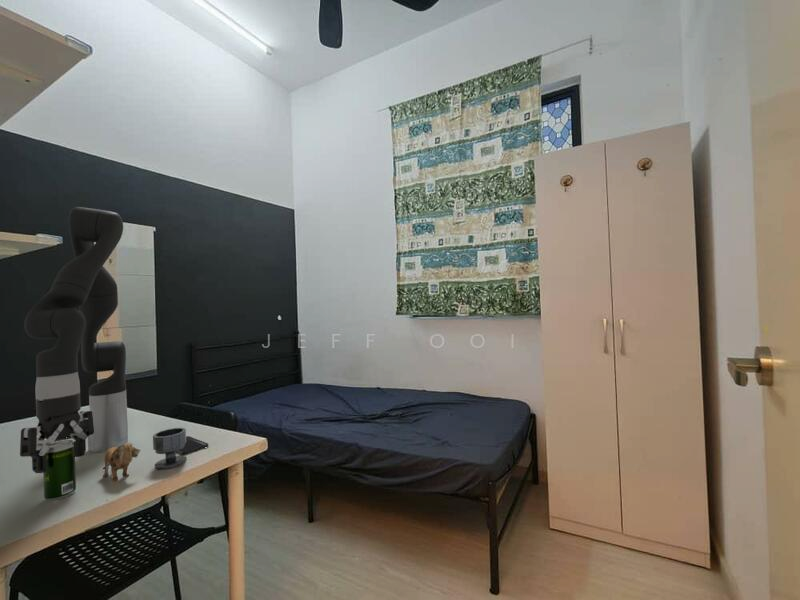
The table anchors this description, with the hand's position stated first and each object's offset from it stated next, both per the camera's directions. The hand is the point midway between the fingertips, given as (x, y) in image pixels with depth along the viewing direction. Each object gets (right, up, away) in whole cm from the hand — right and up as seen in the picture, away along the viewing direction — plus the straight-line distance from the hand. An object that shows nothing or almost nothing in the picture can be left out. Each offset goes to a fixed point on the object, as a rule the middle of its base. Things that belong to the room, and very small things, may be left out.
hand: (60, 464), depth 83 cm
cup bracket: (+16, -7, +15) cm, 23 cm away
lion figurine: (+6, -8, +9) cm, 14 cm away
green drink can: (0, -8, 0) cm, 8 cm away
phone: (+12, -8, +28) cm, 31 cm away
